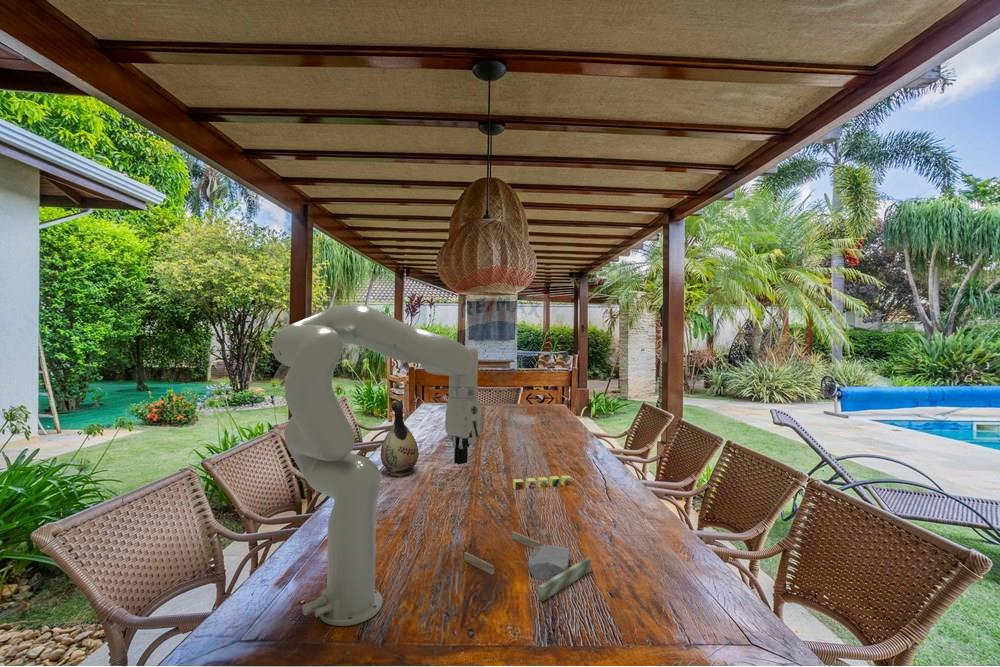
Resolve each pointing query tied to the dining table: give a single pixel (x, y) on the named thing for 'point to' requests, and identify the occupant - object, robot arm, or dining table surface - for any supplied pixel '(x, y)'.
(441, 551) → the dining table surface
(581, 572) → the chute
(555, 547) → the stone block
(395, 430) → the round beige bottle
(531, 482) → the yellow picture cubes row
